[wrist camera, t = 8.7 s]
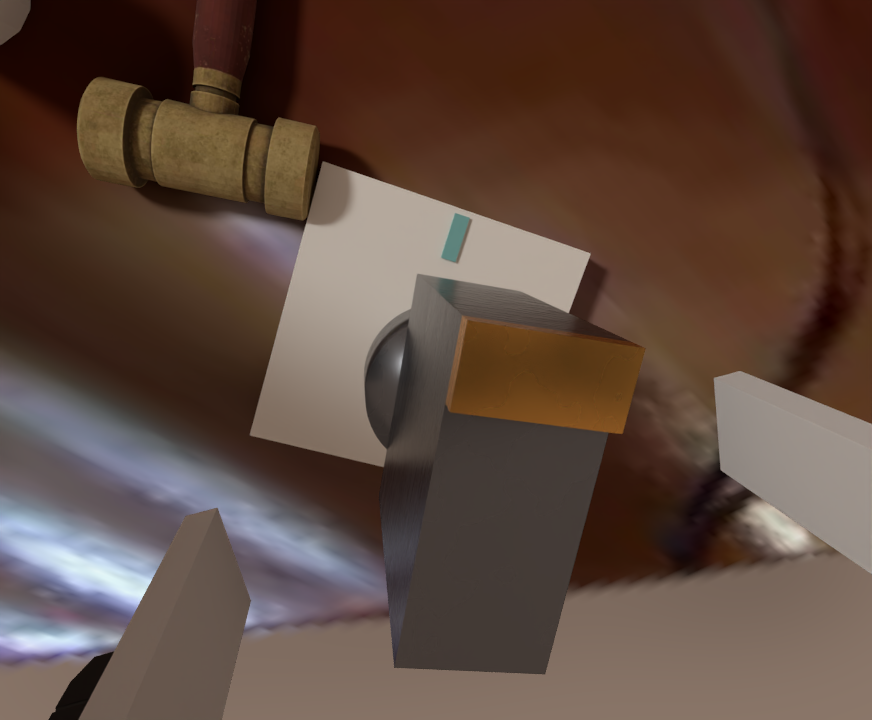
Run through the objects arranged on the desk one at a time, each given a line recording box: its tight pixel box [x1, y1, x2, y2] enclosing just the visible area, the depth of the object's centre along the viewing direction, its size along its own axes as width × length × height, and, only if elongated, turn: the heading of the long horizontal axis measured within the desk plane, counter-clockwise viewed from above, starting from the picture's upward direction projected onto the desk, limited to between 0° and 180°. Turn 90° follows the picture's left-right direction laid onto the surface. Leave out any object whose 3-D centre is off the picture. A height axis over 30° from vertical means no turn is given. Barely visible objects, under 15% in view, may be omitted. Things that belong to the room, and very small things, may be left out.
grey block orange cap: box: [364, 274, 645, 674], centre depth 19 cm, size 9×6×13 cm
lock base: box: [250, 161, 591, 467], centre depth 29 cm, size 15×15×8 cm
